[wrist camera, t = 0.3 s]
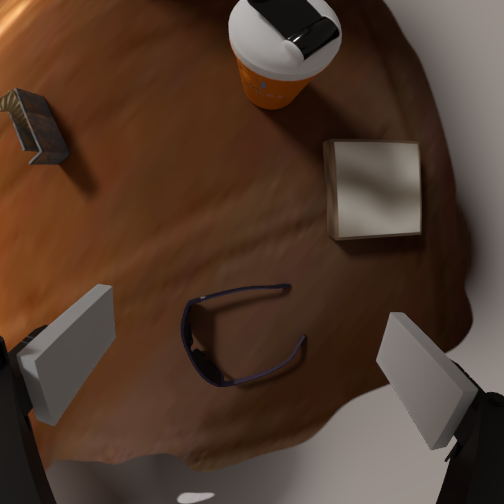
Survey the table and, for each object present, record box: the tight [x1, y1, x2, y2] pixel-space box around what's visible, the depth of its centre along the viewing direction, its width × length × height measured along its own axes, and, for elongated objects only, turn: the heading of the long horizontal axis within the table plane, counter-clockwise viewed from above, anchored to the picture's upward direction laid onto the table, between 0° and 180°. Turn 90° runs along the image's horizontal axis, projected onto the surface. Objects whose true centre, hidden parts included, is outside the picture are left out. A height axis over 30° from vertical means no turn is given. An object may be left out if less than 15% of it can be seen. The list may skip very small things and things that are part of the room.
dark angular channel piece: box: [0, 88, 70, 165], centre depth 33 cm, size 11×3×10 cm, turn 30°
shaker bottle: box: [229, 0, 342, 110], centre depth 27 cm, size 9×9×20 cm
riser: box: [323, 139, 422, 240], centre depth 38 cm, size 12×12×4 cm
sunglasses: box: [181, 284, 306, 387], centre depth 42 cm, size 14×16×5 cm
